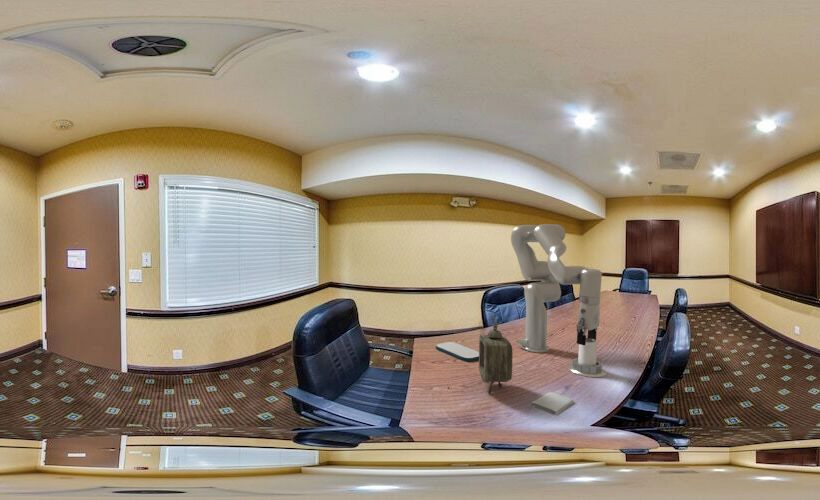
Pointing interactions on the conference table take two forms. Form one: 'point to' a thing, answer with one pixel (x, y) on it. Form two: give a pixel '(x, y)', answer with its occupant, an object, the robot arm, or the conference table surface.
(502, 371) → the tabletop clock
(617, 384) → the conference table surface
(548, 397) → the hard drive
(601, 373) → the ring collar
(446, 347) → the external hard drive
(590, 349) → the can
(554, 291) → the robot arm
